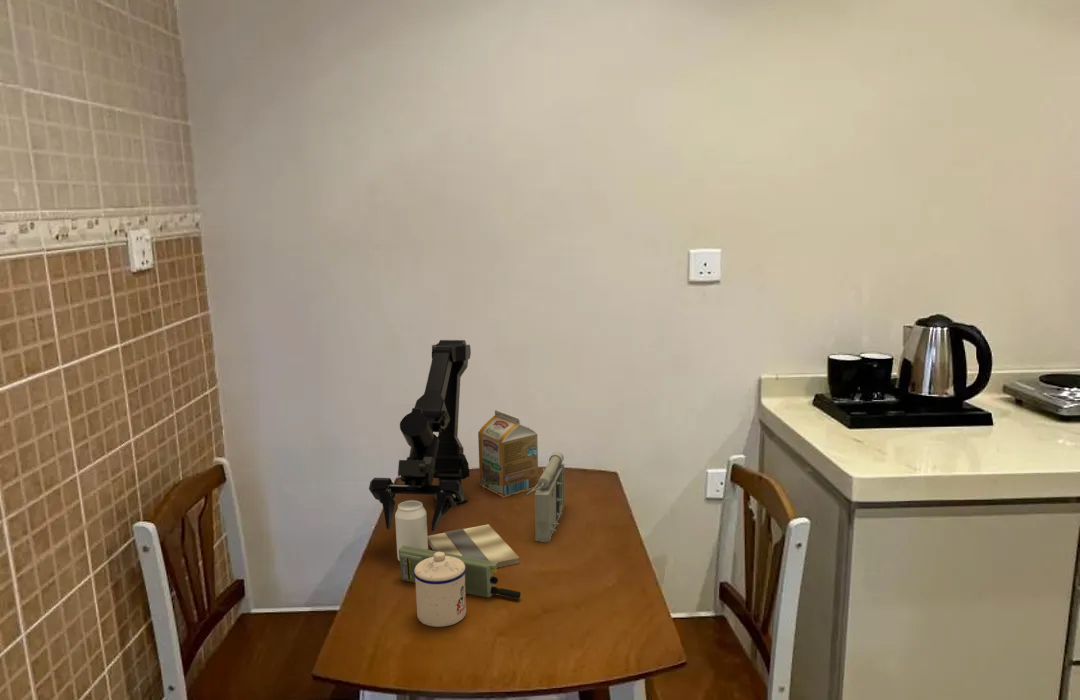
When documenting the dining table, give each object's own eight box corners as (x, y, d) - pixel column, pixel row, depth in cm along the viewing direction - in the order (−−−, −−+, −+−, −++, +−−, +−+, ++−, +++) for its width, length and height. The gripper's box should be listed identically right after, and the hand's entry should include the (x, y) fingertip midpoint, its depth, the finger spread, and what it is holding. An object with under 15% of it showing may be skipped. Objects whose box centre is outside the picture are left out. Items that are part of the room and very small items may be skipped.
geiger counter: (553, 480, 167) (572, 443, 191) (523, 479, 168) (546, 442, 192) (553, 543, 170) (572, 498, 194) (524, 541, 171) (546, 497, 195)
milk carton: (480, 485, 203) (477, 413, 199) (514, 476, 209) (512, 406, 206) (503, 498, 195) (501, 422, 191) (538, 487, 201) (537, 414, 197)
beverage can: (431, 564, 161) (428, 508, 159) (400, 569, 159) (397, 512, 157) (425, 551, 167) (422, 497, 164) (395, 556, 165) (392, 501, 162)
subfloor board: (427, 541, 172) (426, 535, 171) (488, 529, 177) (488, 523, 177) (452, 577, 155) (452, 571, 155) (519, 563, 161) (519, 556, 161)
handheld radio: (408, 574, 158) (524, 597, 148) (398, 582, 155) (516, 606, 145) (405, 543, 156) (522, 564, 146) (396, 550, 153) (515, 572, 144)
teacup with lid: (469, 625, 138) (467, 563, 136) (416, 631, 137) (412, 567, 135) (465, 591, 150) (462, 533, 148) (415, 596, 148) (412, 537, 146)
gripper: (369, 440, 164) (353, 512, 155) (458, 442, 161) (447, 515, 153) (383, 464, 173) (369, 533, 164) (468, 466, 170) (458, 537, 162)
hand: (410, 529), depth 161 cm, fingers open, 9 cm apart
